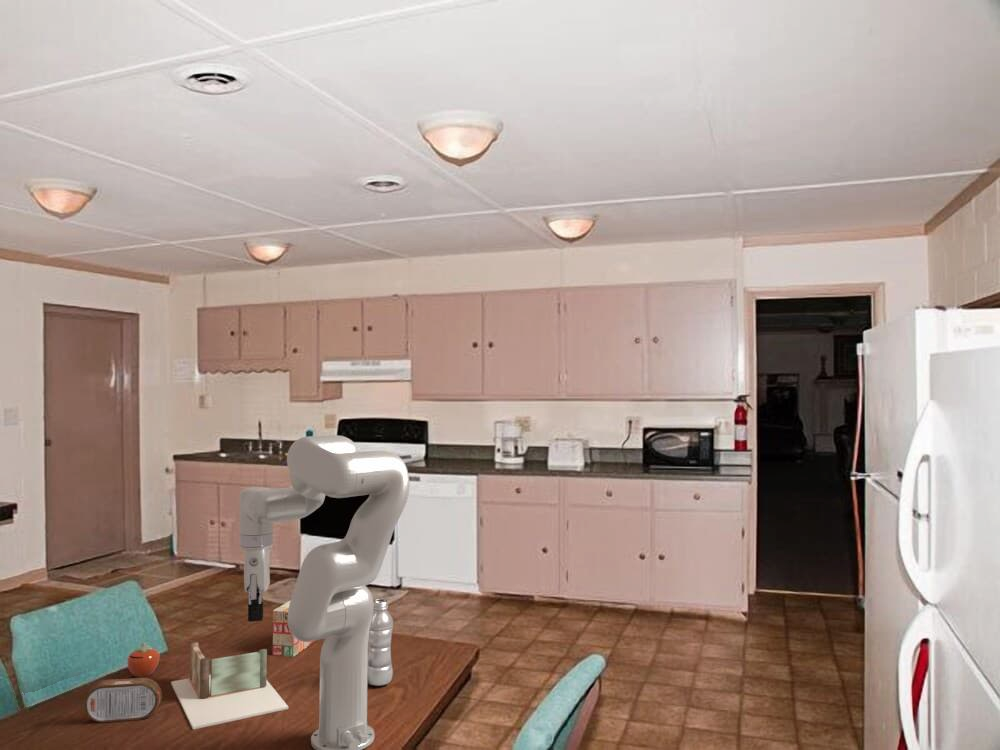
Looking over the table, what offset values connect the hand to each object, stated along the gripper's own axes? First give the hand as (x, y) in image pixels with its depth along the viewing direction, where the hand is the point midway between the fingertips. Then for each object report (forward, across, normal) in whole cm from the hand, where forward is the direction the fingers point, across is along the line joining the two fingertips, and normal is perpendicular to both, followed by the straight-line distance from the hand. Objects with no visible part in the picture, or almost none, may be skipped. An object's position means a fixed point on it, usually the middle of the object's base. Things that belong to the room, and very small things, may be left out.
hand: (255, 620), depth 173 cm
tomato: (+17, +20, +29) cm, 39 cm away
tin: (+18, -7, +27) cm, 33 cm away
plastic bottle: (+18, +3, -28) cm, 34 cm away
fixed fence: (+17, +7, +13) cm, 23 cm away
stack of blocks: (+18, +37, -8) cm, 42 cm away
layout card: (+18, +2, +6) cm, 19 cm away
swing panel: (+17, +3, +4) cm, 18 cm away
